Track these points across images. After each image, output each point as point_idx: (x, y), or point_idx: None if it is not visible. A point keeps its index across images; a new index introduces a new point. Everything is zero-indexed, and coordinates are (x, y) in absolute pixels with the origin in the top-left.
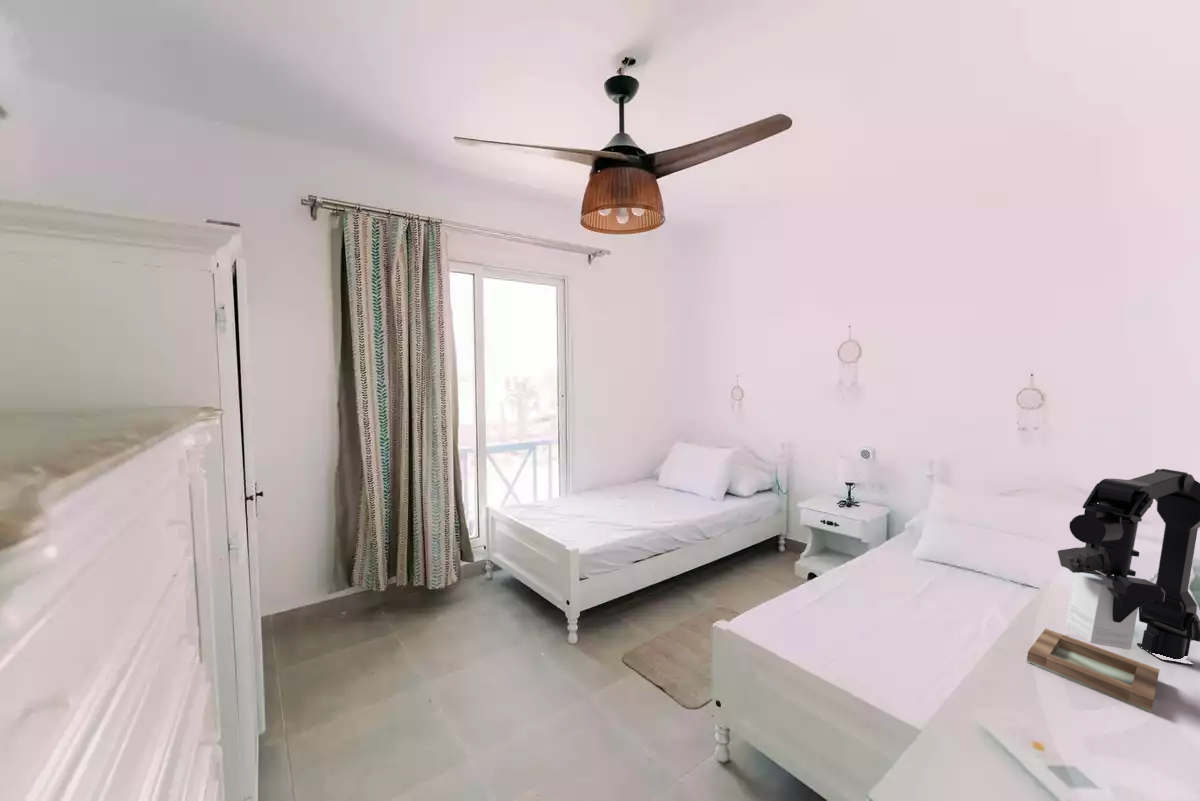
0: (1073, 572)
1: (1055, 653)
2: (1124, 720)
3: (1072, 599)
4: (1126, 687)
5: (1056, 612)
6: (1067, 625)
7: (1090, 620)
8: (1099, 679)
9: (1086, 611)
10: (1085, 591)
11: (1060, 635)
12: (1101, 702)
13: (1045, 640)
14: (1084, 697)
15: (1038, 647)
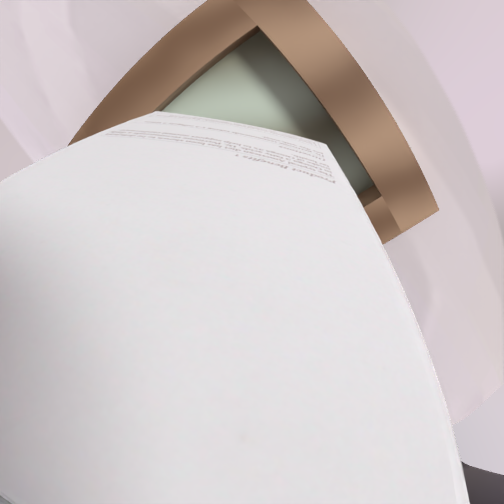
0: (494, 482)
1: (328, 120)
2: (45, 56)
3: (330, 199)
4: (95, 132)
5: (485, 352)
6: (313, 141)
7: (123, 132)
8: (120, 80)
9: (147, 150)
10: (95, 244)
11: (397, 217)
12: (93, 49)
13: (363, 108)
14: (106, 18)
15: (302, 21)
